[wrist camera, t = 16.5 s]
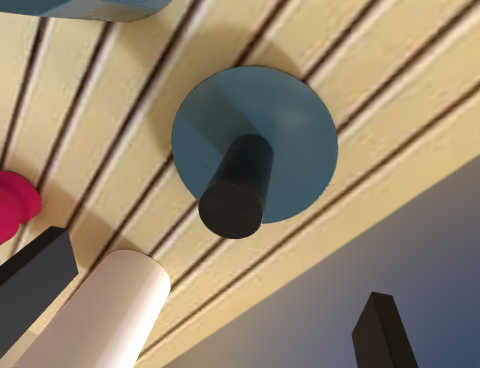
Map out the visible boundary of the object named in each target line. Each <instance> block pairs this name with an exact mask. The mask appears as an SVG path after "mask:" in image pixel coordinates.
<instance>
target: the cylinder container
mask: <svg viewBox="0 0 480 368" xmlns="http://www.w3.org/2000/svg"><path fill="white" fill-rule="evenodd" d="M169 291H170V279H169V277H168V275H167V273H166V271H165V270H164V269H163V267H162V266H161V265H160V264H159V263H157V262H156V261H155V260H153V259H152V258H150V257H149V256H147V255H145V254H142V253H140V252H137V251H132V250H117V251H113V252H111V253H110V254H108V255H107V256H106V257H105V258H104V260H103V261H102V262H101V263H100V264H99V265H98V267H97V268H96V269H95V270H94V271H93V272H92V274H91V275H90V276H89V277H88V278H87V280H86V281H85V282H84V283H83V284H82V285H81V287H80V288H79V289H78V290H77V291H76V292H75V294H74V295H73V296H72V297H71V298H70V300H69V301H68V302H67V303H66V304H65V305H64V307H63V308H62V309H61V310H60V311H59V313H58V314H57V315H56V316H55V317H54V318H53V320H52V321H51V322H50V323H49V324H48V325H47V327H46V328H45V329H44V330H43V331H42V333H41V334H40V335H39V336H38V337H37V338H36V340H35V341H34V342H33V343H32V344H31V346H30V347H29V348H28V349H27V350H26V351H25V353H24V354H23V355H22V356H21V357H20V358H19V360H18V361H17V362H16V363H15V364H14V366H13V367H12V368H133V366H134V363H135V361H136V359H137V357H138V355H139V353H140V351H141V349H142V347H143V345H144V343H145V341H146V339H147V337H148V335H149V333H150V331H151V329H152V326H153V324H154V322H155V320H156V318H157V316H158V314H159V312H160V310H161V308H162V306H163V304H164V302H165V300H166V298H167V296H168V294H169Z"/></svg>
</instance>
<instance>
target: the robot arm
mask: <svg viewBox="0 0 480 368" xmlns="http://www.w3.org/2000/svg"><path fill="white" fill-rule="evenodd" d="M77 274H78V269H77V265H76V262H75V258H74V254H73V250H72V246H71V242H70V238H69V234H68V231H67V229H65V228H60V227H55V226H51V227H49V228H48V229H47V230H45V231H44V232H43V233H42V234H40V235H39V236H38V237H36V238H35V239H34V240H33V241H31V242H30V243H29V244H28V245H26V246H25V247H24V248H22V249H21V250H20V251H19V252H17V253H16V254H15V255H14V256H12V257H11V258H10V259H8V260H7V261H6V262H5V263H3V264H2V265H1V266H0V359H1V358H2V357H3V355H5V353H6V352H7V351H8V350H9V349H10V348H11V347H12V346H13V345H14V344H15V342H16V341H17V340H18V339H19V338H20V337H21V336H22V335H23V334H24V333H25V332H26V330H27V329H28V328H29V327H30V326H31V325H32V324H33V323H34V322H35V321H36V319H37V318H38V317H39V316H40V315H41V314H42V313H43V312H44V311H45V310H46V308H47V307H48V306H49V305H50V304H51V303H52V302H53V301H54V300H55V299H56V298H57V296H58V295H59V294H60V293H61V292H62V291H63V290H64V289H65V288H66V287H67V285H68V284H69V283H70V282H71V281H72V280H73V279H74V278H75V277H76V276H77ZM352 339H353V344H354V350H355V355H356V361H357V366H358V368H418V365H417V362H416V360H415V357H414V354H413V351H412V349H411V346H410V343H409V340H408V338H407V335H406V332H405V330H404V327H403V324H402V321H401V319H400V316H399V313H398V310H397V307H396V305H395V302H394V299H393V296H391V295H387V294H381V293H377V292H372V293H371V295H370V297H369V299H368V301H367V303H366V305H365V307H364V309H363V311H362V314H361V316H360V318H359V320H358V322H357V324H356V326H355V328H354V330H353V333H352Z"/></svg>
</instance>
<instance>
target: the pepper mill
mask: <svg viewBox="0 0 480 368" xmlns="http://www.w3.org/2000/svg"><path fill="white" fill-rule="evenodd" d="M40 209H41V199H40V196H39V194H38V192H37V191H36V189H35V188H34V186H33V185H32V184H31V183H30V182H29V181H27V180H26V179H25V178H23V177H22V176H20V175H18V174H16V173H13V172H10V171H0V245H1V244H3V243H4V242H6V241H8V240H9V239H11V238H12V237H13V236H14V235H15V234H16V232H17V231H18V229H19V225H20V224H22V223H25V222H27V221H28V220H30V219H31V218H33V217H34V216H36V215H37V214H38V213H39V212H40Z"/></svg>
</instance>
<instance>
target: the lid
mask: <svg viewBox="0 0 480 368" xmlns="http://www.w3.org/2000/svg"><path fill="white" fill-rule="evenodd" d="M172 154H173V158H174V163H175V165H176V168H177V171H178V173H179V175H180V177H181V179H182V181H183V183H184V184H185V186H186V187H187V189H188V190H189V191H190V192H191V193H192V195H193V196H194V197H195V198H196V199H197V200H198V201H199V205H198V210H199V215H200V218H201V220H202V222H203V223H204V224H205V226H206V227H207V228H208V229H209V230H211V231H212V232H213V233H215V234H217V235H219V236H221V237H224V238H228V239H241V238H245V237H248V236H250V235H252V234H253V233H255V232H256V231H257V230H258V229H259V228H260V226H261V224H265V223H273V222H278V221H282V220H285V219H288V218H291V217H293V216H295V215H297V214H299V213H301V212H302V211H304V210H306V209H307V208H308V207H310V206H311V205H312V204H313V203H314V202H315V201H316V200H317V199H318V198H319V197H320V196H321V195H322V194H323V192H324V191H325V189H326V188H327V186H328V185H329V183H330V181H331V179H332V176H333V174H334V171H335V168H336V163H337V158H338V139H337V133H336V129H335V125H334V123H333V120H332V117H331V115H330V113H329V111H328V109H327V108H326V106H325V104H324V103H323V101H322V100H321V99H320V98H319V96H318V95H317V94H316V93H315V92H314V91H313V90H312V89H311V88H310V87H309V86H308V85H306V84H305V83H304V82H302V81H301V80H299V79H298V78H296V77H294V76H292V75H290V74H288V73H286V72H283V71H281V70H278V69H275V68H270V67H265V66H251V65H250V66H238V67H234V68H230V69H226V70H223V71H221V72H218V73H216V74H214V75H212V76H210V77H209V78H207V79H205V80H204V81H202V82H201V83H200V84H199V85H197V86H196V87H195V88H194V89H193V90H192V91H191V92H190V93H189V94H188V96H187V97H186V98H185V100H184V101H183V103H182V104H181V106H180V108H179V110H178V112H177V115H176V118H175V121H174V125H173V130H172Z"/></svg>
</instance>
